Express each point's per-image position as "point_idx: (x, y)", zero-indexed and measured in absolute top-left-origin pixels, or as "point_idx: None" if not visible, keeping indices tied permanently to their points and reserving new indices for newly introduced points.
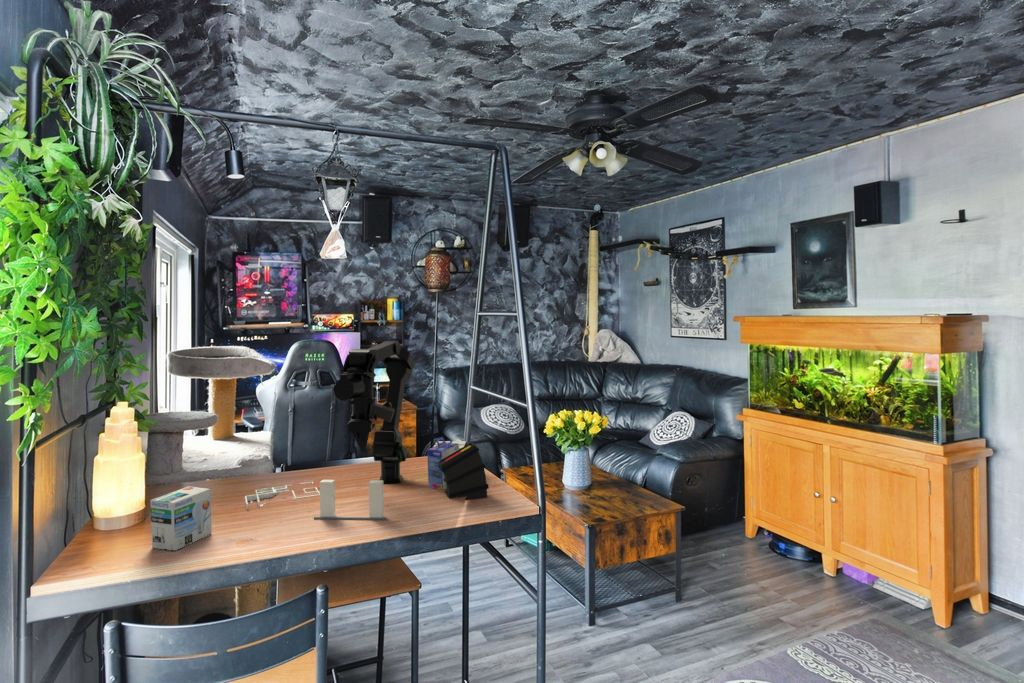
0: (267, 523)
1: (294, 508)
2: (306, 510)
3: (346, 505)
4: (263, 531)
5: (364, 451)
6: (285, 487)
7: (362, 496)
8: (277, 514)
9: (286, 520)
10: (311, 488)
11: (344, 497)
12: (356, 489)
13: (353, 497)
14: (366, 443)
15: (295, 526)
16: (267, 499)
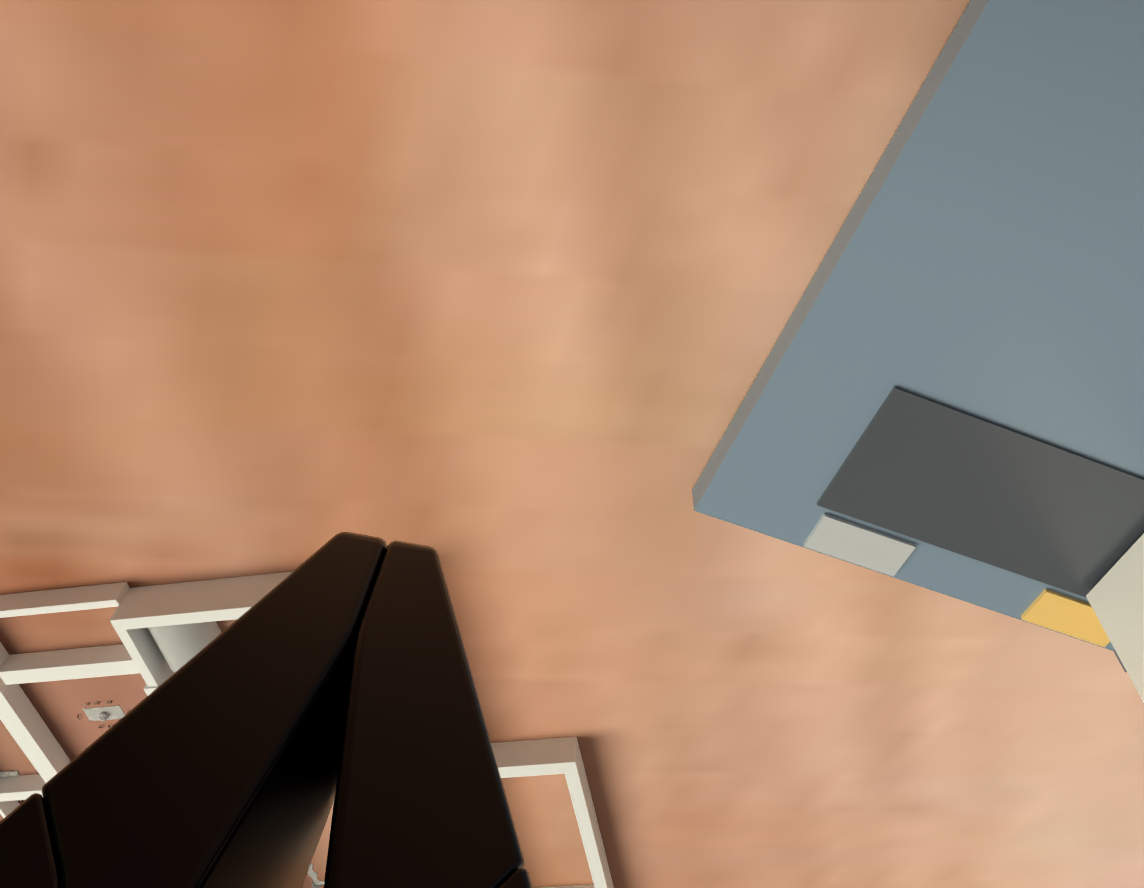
0: (894, 867)
1: (614, 738)
2: (711, 669)
3: (719, 348)
4: (1053, 882)
5: (435, 568)
6: (25, 793)
7: (420, 137)
8: (717, 824)
9: (898, 782)
10: (142, 653)
11: (406, 351)
12: (89, 191)
13: (434, 253)
14: (493, 761)
15: (1087, 737)
16: (312, 870)
